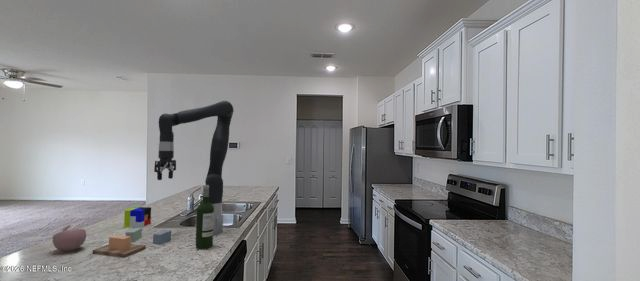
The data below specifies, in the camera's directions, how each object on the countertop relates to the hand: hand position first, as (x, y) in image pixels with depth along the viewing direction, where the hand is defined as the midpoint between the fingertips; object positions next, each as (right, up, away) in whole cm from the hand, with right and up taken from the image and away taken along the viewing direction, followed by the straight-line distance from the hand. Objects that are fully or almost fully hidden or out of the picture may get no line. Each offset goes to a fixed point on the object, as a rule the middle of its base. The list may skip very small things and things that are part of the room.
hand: (165, 179), depth 173 cm
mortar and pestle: (-29, -29, -30) cm, 51 cm away
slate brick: (+5, -30, -14) cm, 34 cm away
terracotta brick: (-7, -28, -29) cm, 41 cm away
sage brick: (-11, -30, -11) cm, 34 cm away
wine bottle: (+29, -31, -19) cm, 46 cm away
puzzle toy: (-24, -30, +15) cm, 41 cm away
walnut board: (-7, -30, -29) cm, 42 cm away
